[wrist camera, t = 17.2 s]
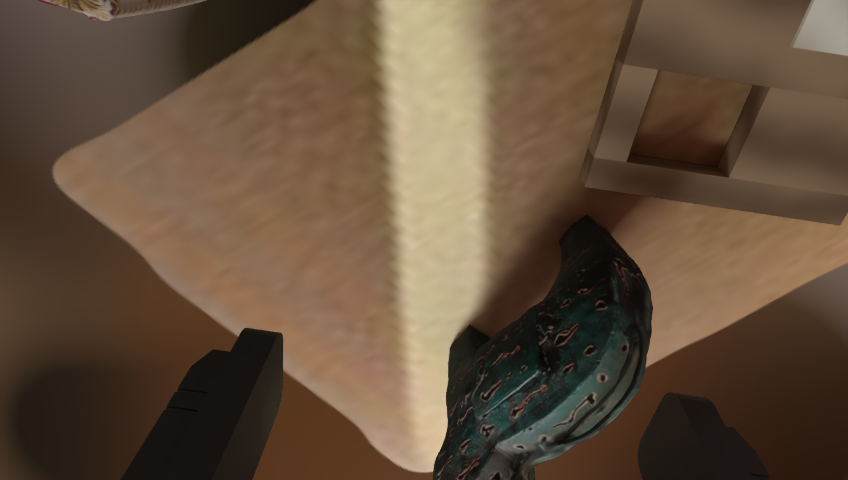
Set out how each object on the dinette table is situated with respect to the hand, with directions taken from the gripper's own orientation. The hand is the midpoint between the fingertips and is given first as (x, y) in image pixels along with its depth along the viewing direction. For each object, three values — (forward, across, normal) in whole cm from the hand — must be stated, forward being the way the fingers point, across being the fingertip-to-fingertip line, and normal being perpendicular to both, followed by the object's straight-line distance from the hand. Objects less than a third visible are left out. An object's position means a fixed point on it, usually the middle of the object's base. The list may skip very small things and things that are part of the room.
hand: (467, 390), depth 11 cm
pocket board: (+30, -20, -4) cm, 36 cm away
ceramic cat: (+30, -8, +18) cm, 36 cm away
